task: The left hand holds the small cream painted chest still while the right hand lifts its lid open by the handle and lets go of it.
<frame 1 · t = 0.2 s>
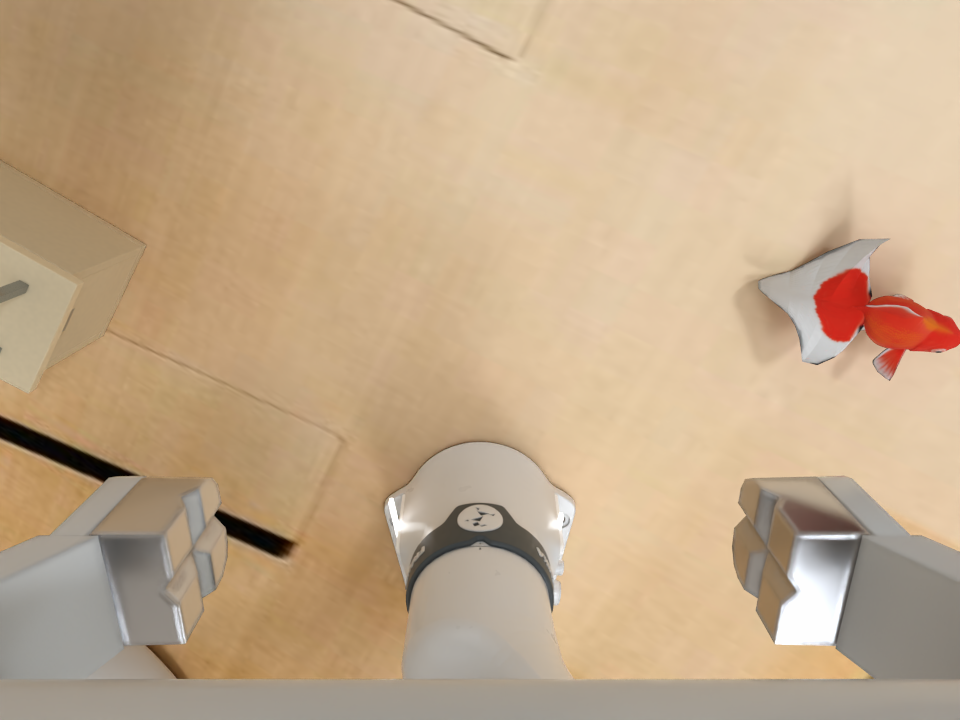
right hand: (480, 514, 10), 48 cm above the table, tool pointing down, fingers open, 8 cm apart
light grey rounded piece: (126, 680, 74), on the table
chest: (42, 245, 57), on the table
fish: (830, 301, 59), on the table
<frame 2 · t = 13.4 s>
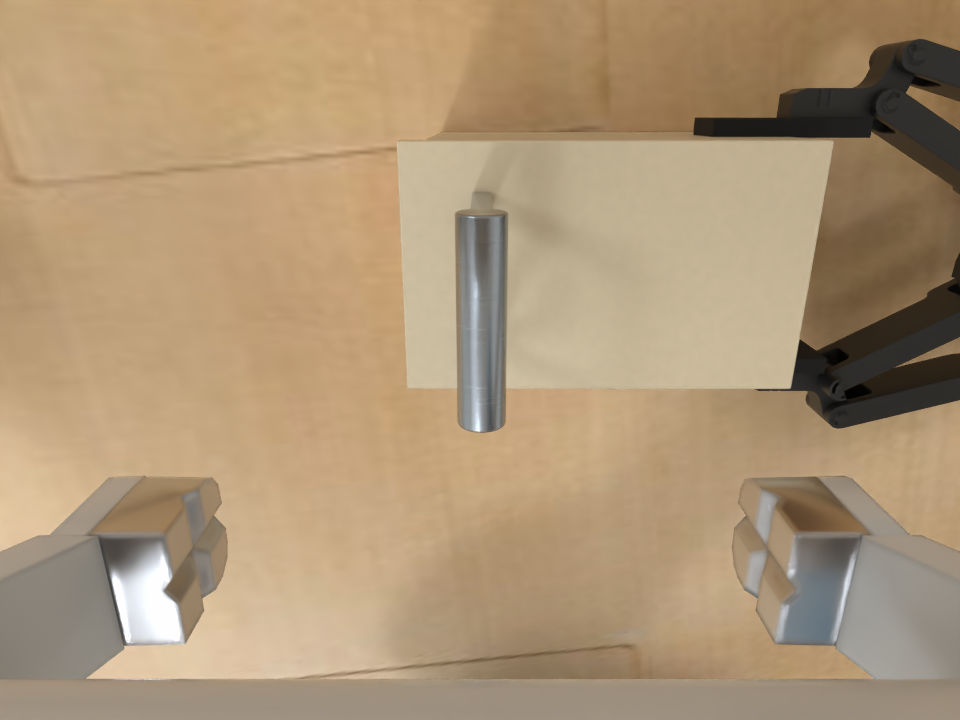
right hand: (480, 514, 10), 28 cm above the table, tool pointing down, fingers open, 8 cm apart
lid: (623, 294, 23), point 15 cm above the table, hinge at 0.0°
chest: (576, 224, 37), on the table, touching left hand
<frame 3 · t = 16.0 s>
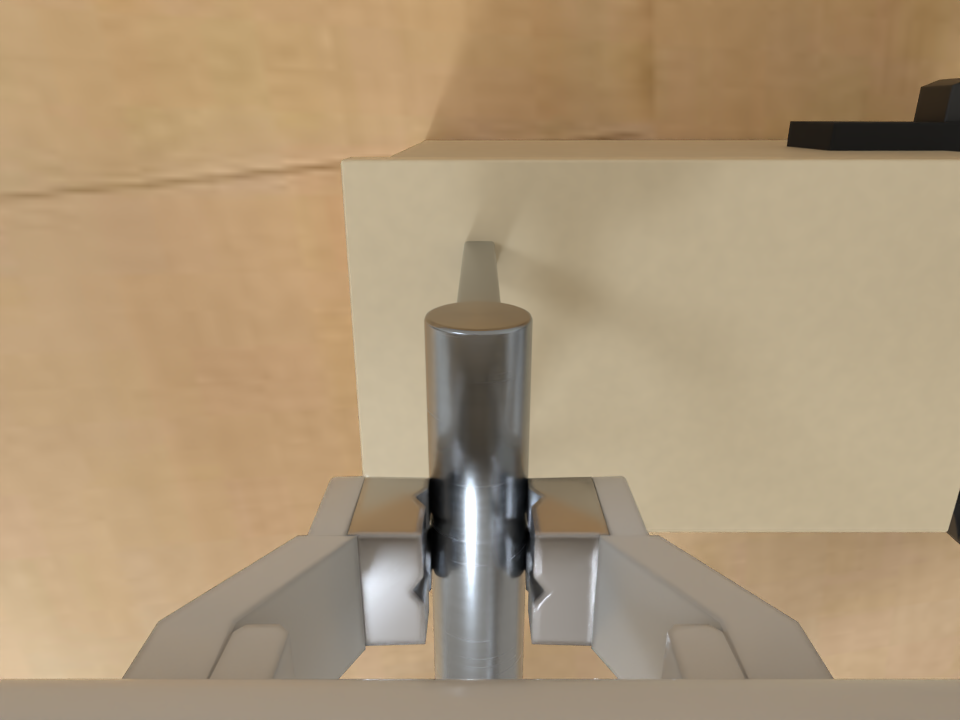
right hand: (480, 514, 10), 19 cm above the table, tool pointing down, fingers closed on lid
lid: (718, 421, 13), point 15 cm above the table, hinge at 0.1°, touching right hand
chest: (607, 263, 28), on the table, touching left hand
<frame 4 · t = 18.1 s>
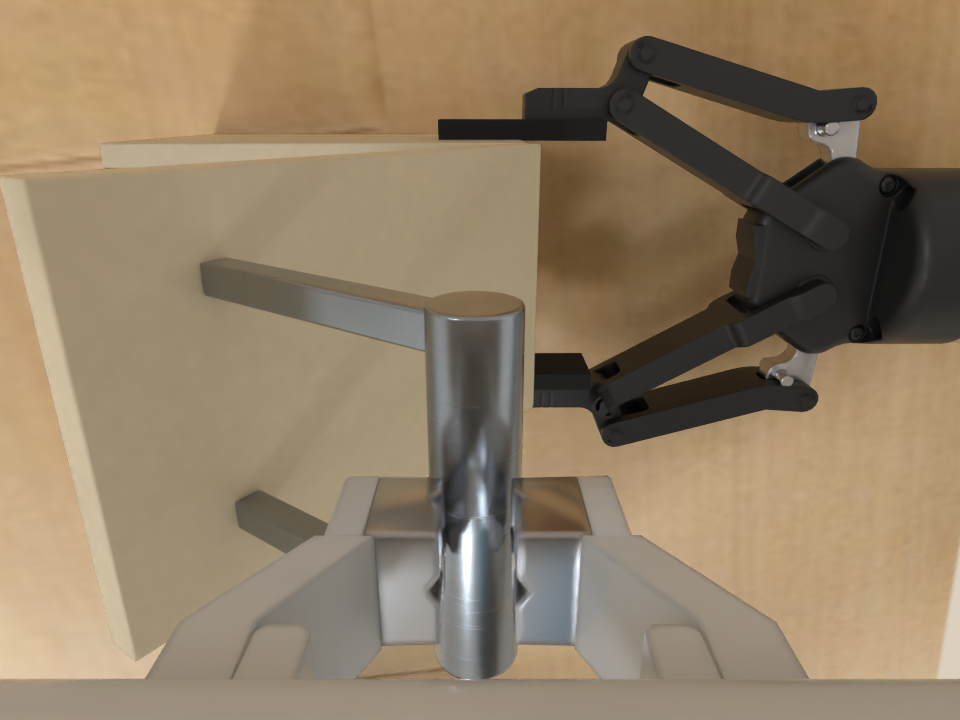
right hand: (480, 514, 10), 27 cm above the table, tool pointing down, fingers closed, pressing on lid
left hand: (442, 258, 29), fingers closed on chest, 10 cm apart
lid: (480, 365, 16), point 20 cm above the table, hinge at 53.3°, touching right hand
chest: (367, 231, 35), on the table, touching left hand
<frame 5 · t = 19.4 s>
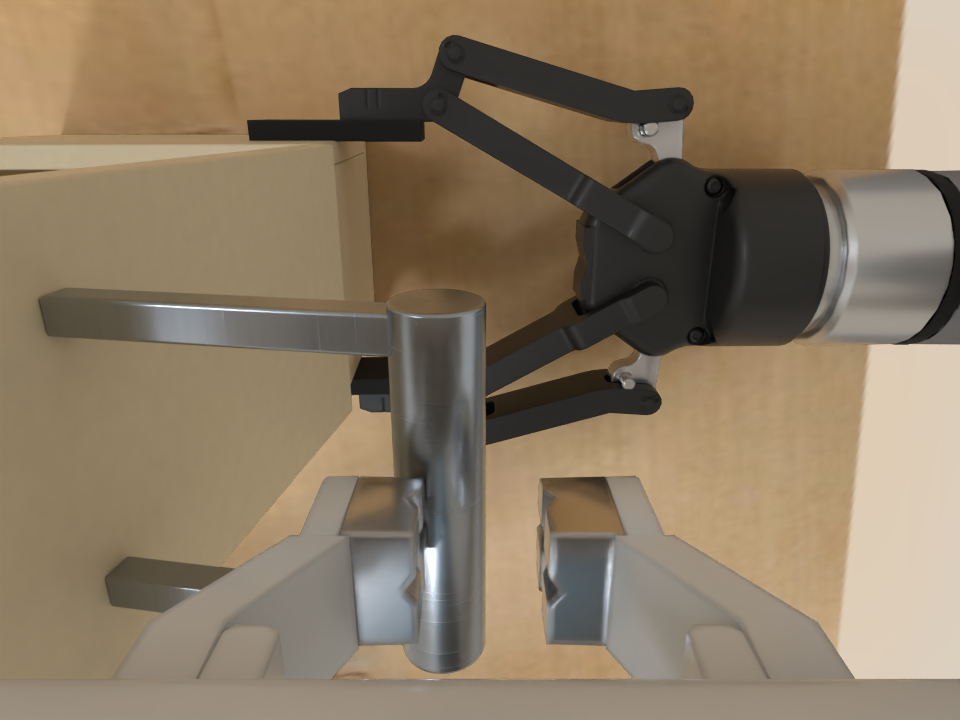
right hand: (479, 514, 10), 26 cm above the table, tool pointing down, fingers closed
left hand: (272, 261, 28), fingers closed on chest, 10 cm apart
lid: (349, 371, 16), point 20 cm above the table, hinge at 78.3°, touching right hand
chest: (226, 233, 35), on the table, touching left hand
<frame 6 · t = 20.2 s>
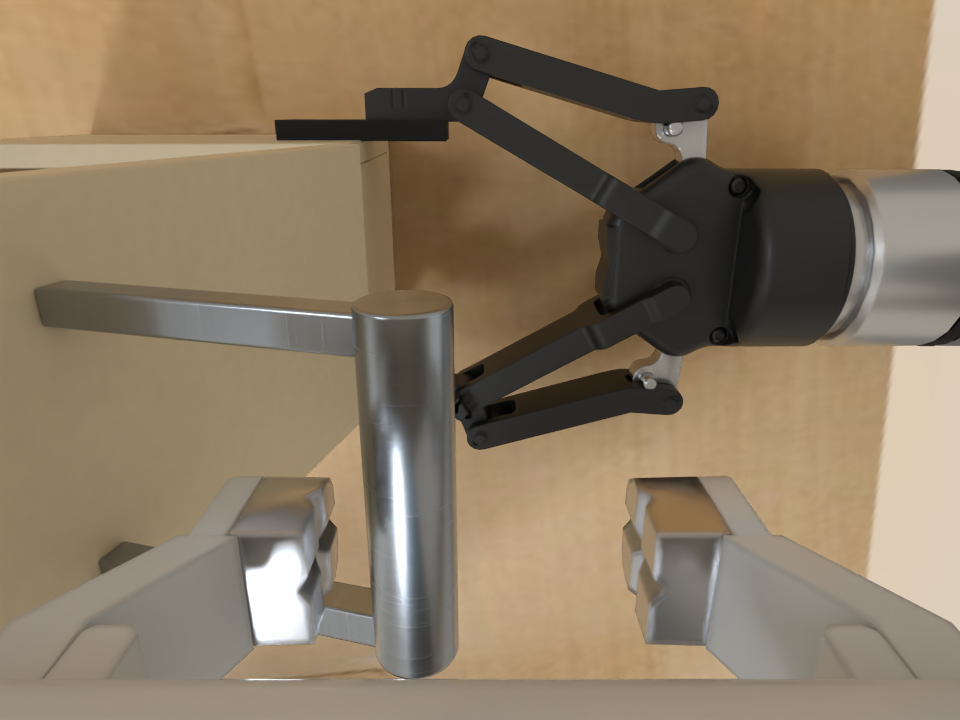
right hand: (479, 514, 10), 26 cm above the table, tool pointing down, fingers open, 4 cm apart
left hand: (297, 259, 28), fingers closed on chest, 10 cm apart
lid: (352, 369, 16), point 20 cm above the table, hinge at 74.1°
chest: (250, 232, 35), on the table, touching left hand
when the left hand's fingers open (7 cm above the table, at t = 23.9 s): chest stays where it is, on the table.
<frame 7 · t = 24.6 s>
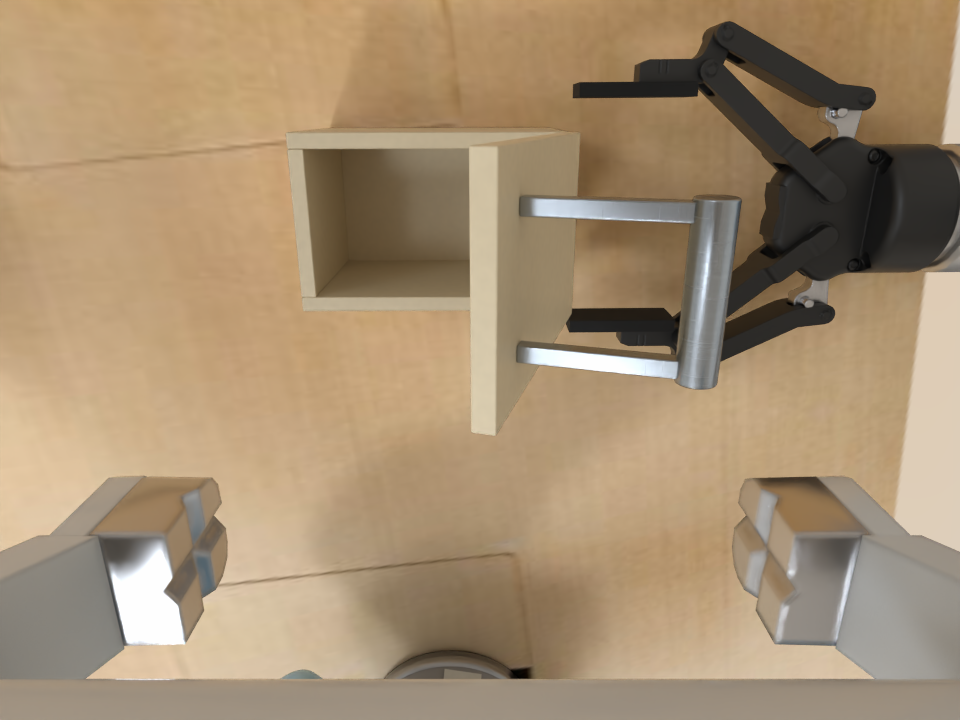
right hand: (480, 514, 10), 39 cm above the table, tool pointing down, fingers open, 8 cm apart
left hand: (570, 212, 40), fingers open, 13 cm apart
lid: (620, 260, 28), point 20 cm above the table, hinge at 72.9°
chest: (441, 201, 47), on the table
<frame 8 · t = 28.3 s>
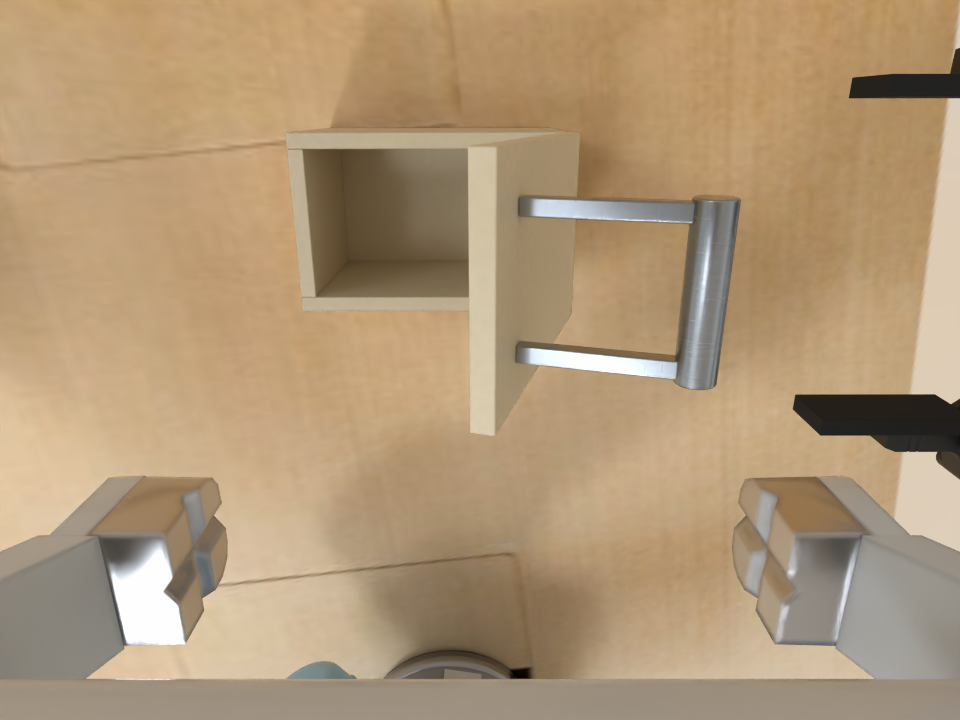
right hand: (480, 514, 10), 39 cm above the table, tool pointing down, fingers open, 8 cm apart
lid: (619, 260, 28), point 20 cm above the table, hinge at 72.9°
chest: (441, 201, 47), on the table
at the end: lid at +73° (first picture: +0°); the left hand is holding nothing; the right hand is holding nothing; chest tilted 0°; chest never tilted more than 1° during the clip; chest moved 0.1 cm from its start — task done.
